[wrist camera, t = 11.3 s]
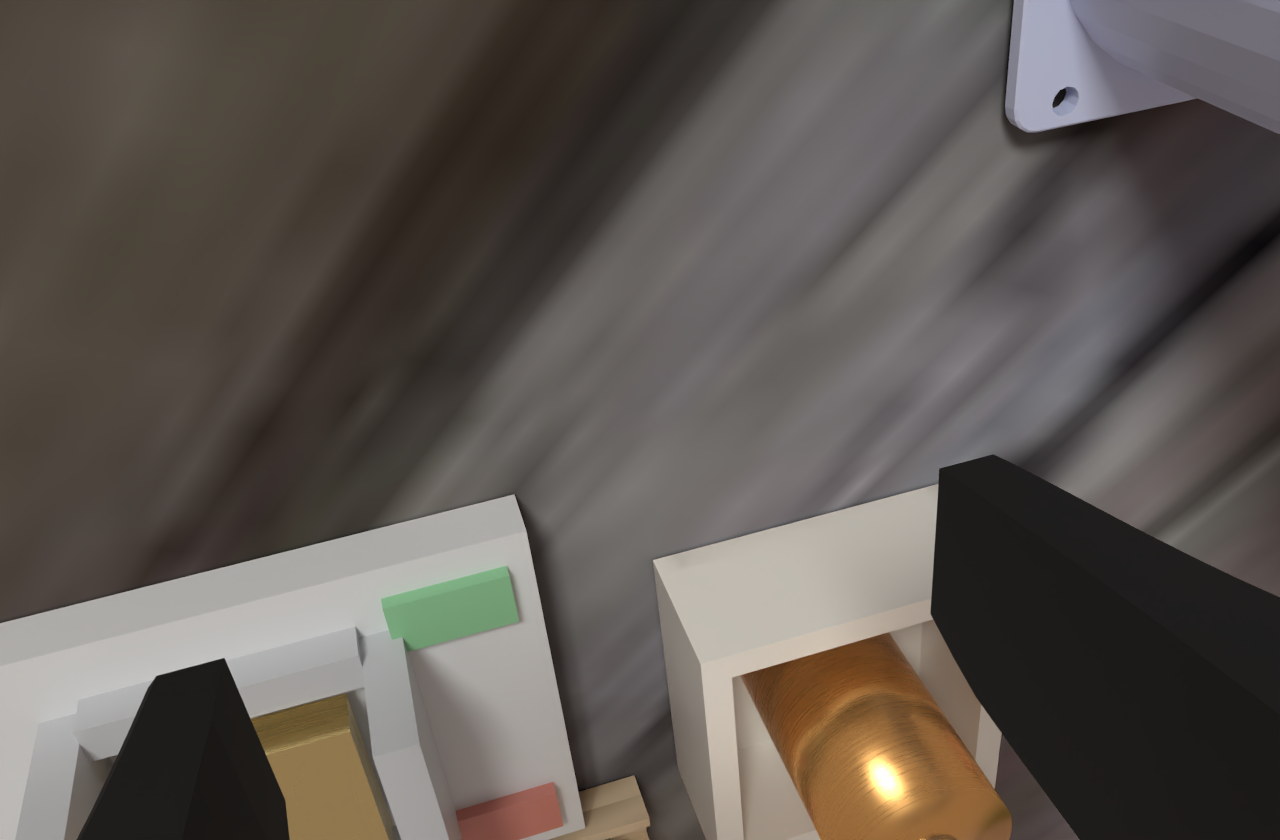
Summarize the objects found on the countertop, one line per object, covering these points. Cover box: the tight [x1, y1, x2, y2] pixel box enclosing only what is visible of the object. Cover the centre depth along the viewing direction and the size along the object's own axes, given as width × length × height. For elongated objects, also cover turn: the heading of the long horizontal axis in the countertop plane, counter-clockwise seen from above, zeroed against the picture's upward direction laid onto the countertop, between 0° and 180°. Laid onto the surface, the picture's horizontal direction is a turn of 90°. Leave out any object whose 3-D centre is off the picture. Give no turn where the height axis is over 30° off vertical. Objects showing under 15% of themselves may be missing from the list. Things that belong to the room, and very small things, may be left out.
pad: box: [251, 693, 394, 840], centre depth 22 cm, size 4×4×1 cm
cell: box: [740, 632, 1012, 840], centre depth 24 cm, size 3×3×6 cm
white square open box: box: [653, 484, 1002, 840], centre depth 26 cm, size 7×7×3 cm
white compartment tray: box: [0, 495, 585, 840], centre depth 22 cm, size 12×9×4 cm
